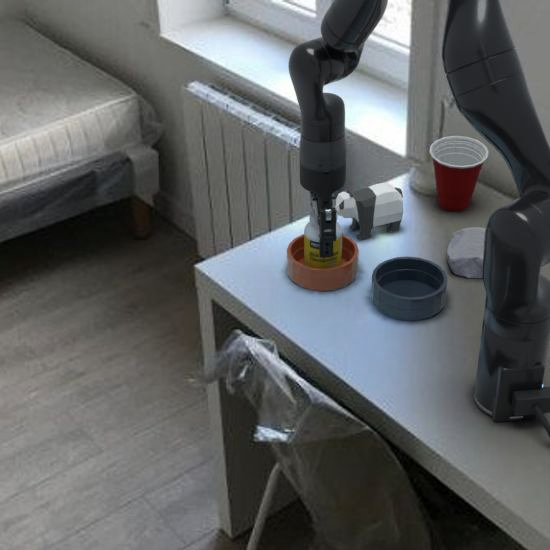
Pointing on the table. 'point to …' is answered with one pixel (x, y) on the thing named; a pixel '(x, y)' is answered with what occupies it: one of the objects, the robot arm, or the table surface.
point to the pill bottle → (312, 246)
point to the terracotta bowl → (322, 276)
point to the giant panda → (371, 208)
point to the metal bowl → (409, 288)
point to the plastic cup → (457, 170)
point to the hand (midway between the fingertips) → (322, 242)
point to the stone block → (467, 252)
